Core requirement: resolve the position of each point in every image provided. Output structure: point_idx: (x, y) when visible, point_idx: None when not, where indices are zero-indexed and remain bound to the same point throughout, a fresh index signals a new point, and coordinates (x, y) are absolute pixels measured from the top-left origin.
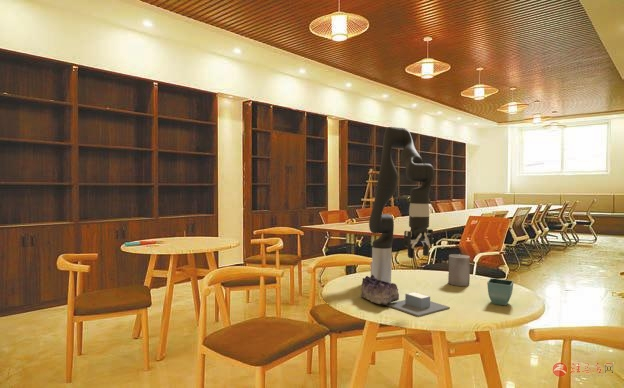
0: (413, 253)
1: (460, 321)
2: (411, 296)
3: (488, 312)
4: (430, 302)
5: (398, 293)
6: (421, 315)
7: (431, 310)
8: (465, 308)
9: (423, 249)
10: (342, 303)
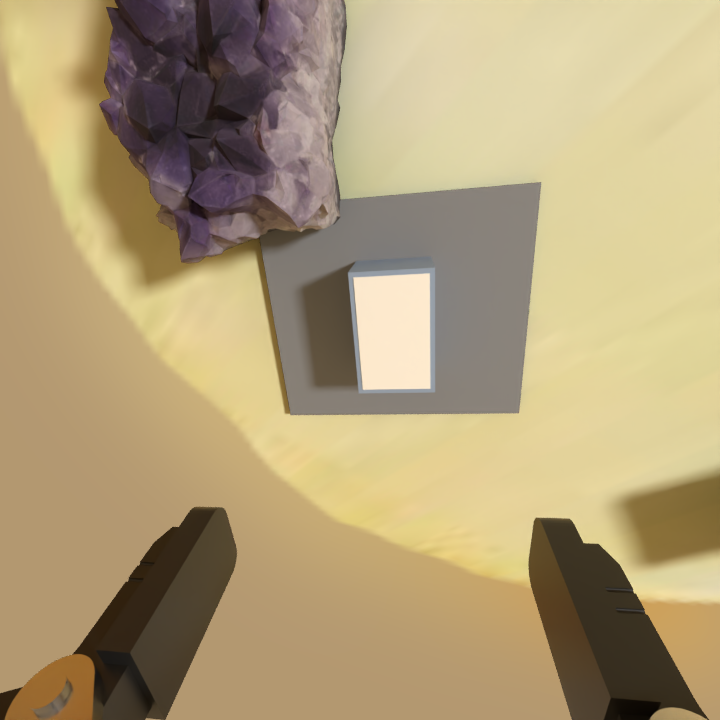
0: (201, 624)
1: (401, 515)
2: (352, 321)
3: (607, 518)
4: (506, 313)
5: (322, 228)
6: (311, 411)
7: (392, 403)
8: (584, 443)
9: (575, 617)
10: (22, 14)
